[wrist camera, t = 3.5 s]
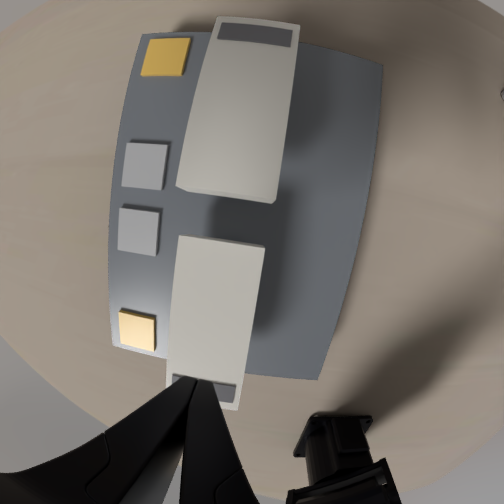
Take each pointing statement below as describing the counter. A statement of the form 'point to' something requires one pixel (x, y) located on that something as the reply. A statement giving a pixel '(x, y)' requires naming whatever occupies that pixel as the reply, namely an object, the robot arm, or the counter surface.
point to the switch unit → (244, 202)
